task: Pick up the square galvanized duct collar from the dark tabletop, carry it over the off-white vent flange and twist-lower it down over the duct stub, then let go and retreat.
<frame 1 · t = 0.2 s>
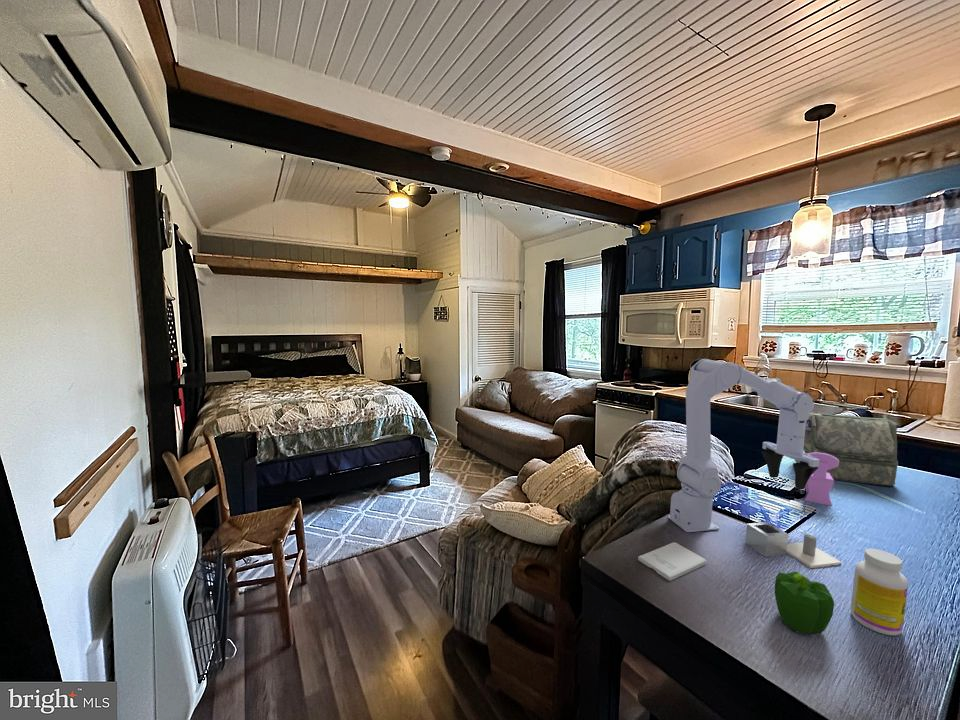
hand: (786, 482, 107), 10 cm above the table, fingers open, 7 cm apart
supplement bottle: (875, 623, 71), on the table
collar: (765, 548, 93), on the table
lunch bag: (839, 475, 139), on the table
vent flange: (808, 555, 91), on the table
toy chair: (815, 498, 120), on the table
bell pepper: (798, 624, 70), on the table
external hard drive: (671, 565, 88), on the table
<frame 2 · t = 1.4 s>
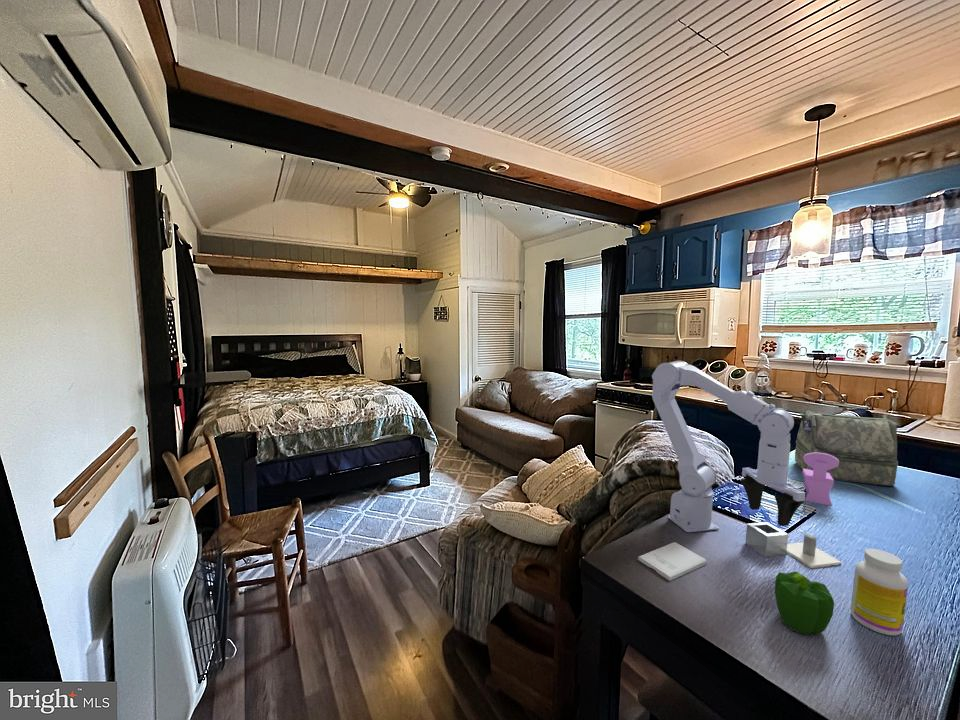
hand: (768, 516, 92), 8 cm above the table, fingers open, 7 cm apart
nothing on the table moved.
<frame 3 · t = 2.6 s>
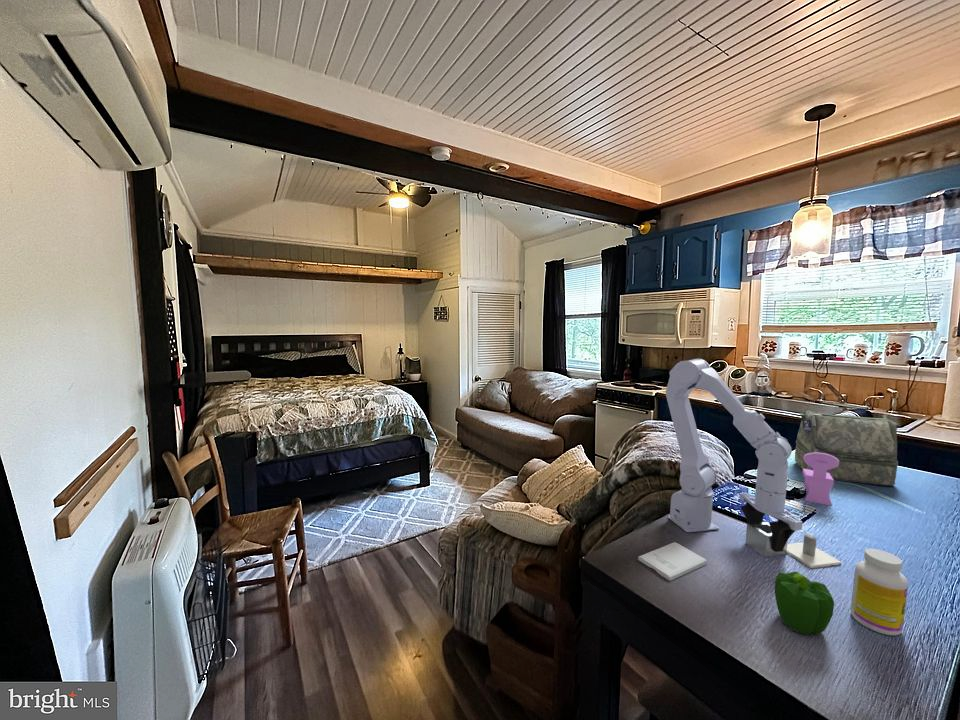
hand: (765, 543, 93), 1 cm above the table, fingers closed on collar, 6 cm apart
collar: (765, 548, 93), on the table, touching gripper
everything else where it was.
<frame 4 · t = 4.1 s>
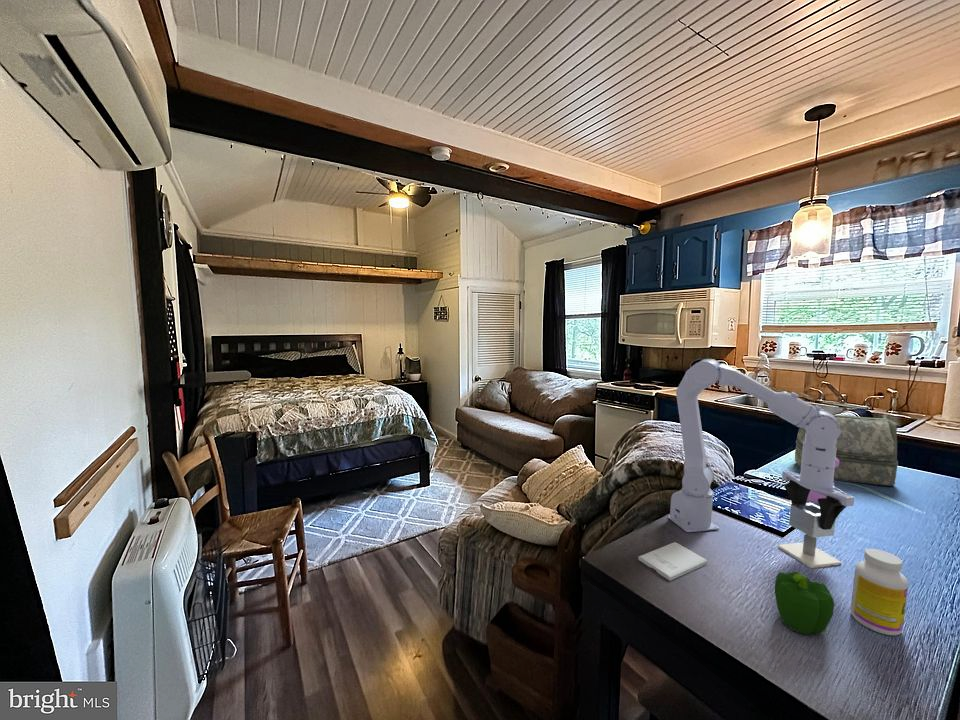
hand: (812, 521, 90), 8 cm above the table, fingers closed on collar, 6 cm apart
collar: (810, 529, 90), point 6 cm above the table, touching gripper
everything else where it was.
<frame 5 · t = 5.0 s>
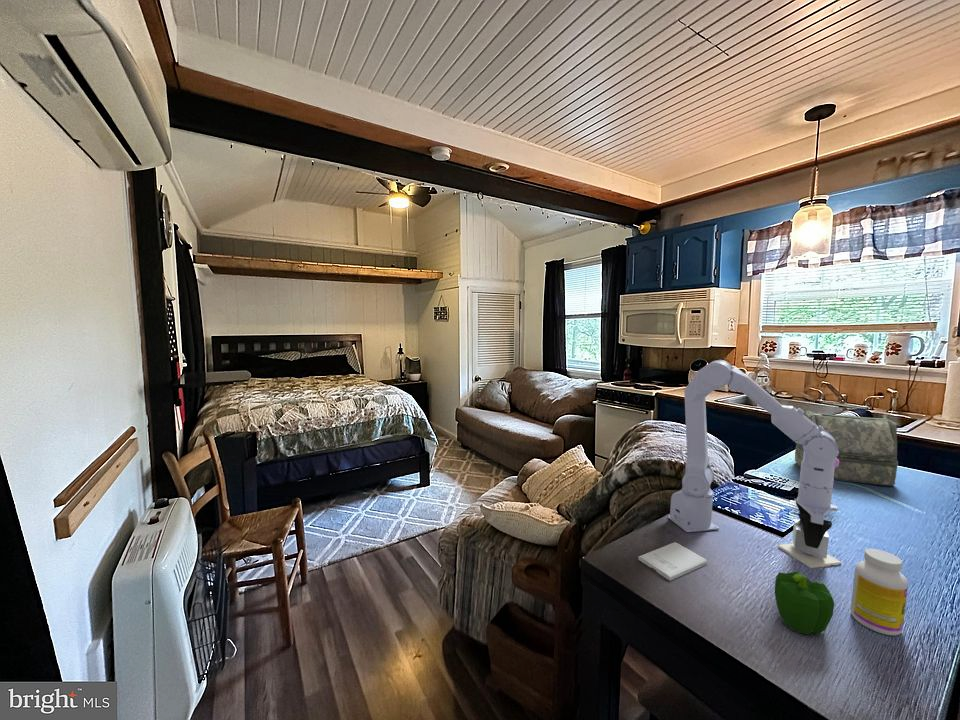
hand: (810, 540, 90), 4 cm above the table, fingers closed on collar, 6 cm apart
collar: (808, 548, 90), point 2 cm above the table, touching gripper
everything else where it was.
when the fingers open (3 cm above the table, at t = 5.7 s): collar stays where it is, resting on vent flange.
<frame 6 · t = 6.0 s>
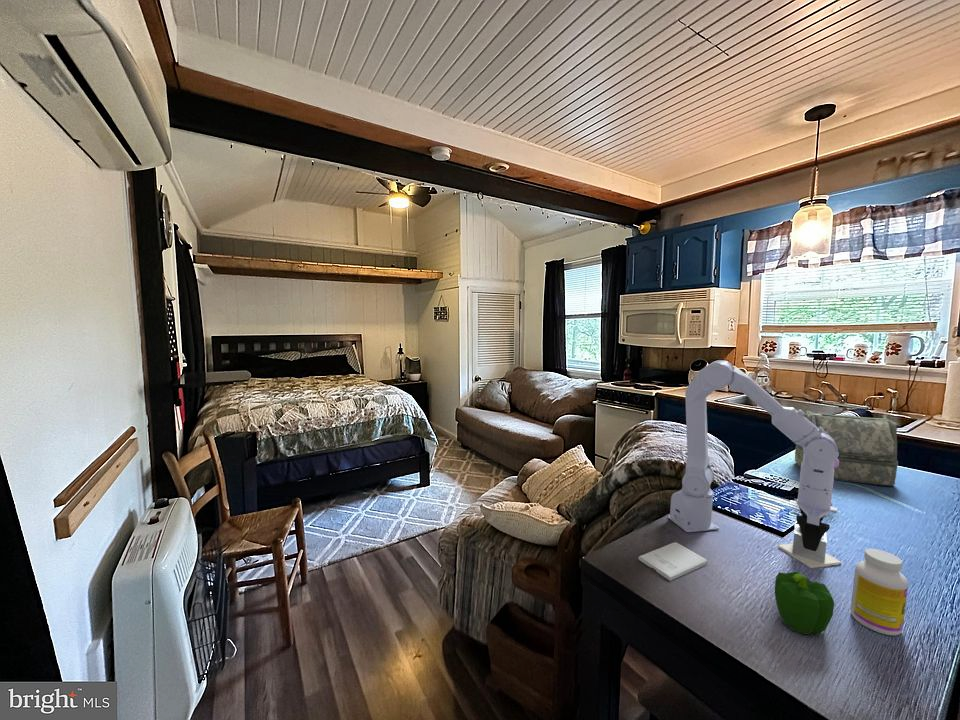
hand: (809, 541, 90), 3 cm above the table, fingers open, 7 cm apart
collar: (808, 553, 91), point 1 cm above the table, touching vent flange
everything else where it was.
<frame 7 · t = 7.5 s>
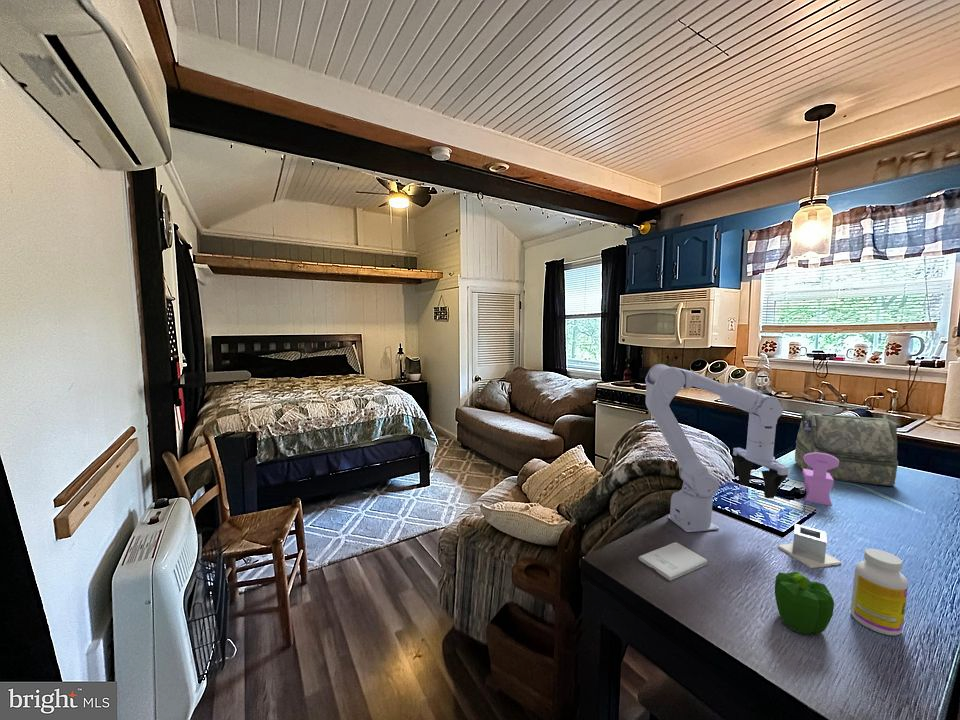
hand: (756, 491, 102), 10 cm above the table, fingers open, 7 cm apart
nothing on the table moved.
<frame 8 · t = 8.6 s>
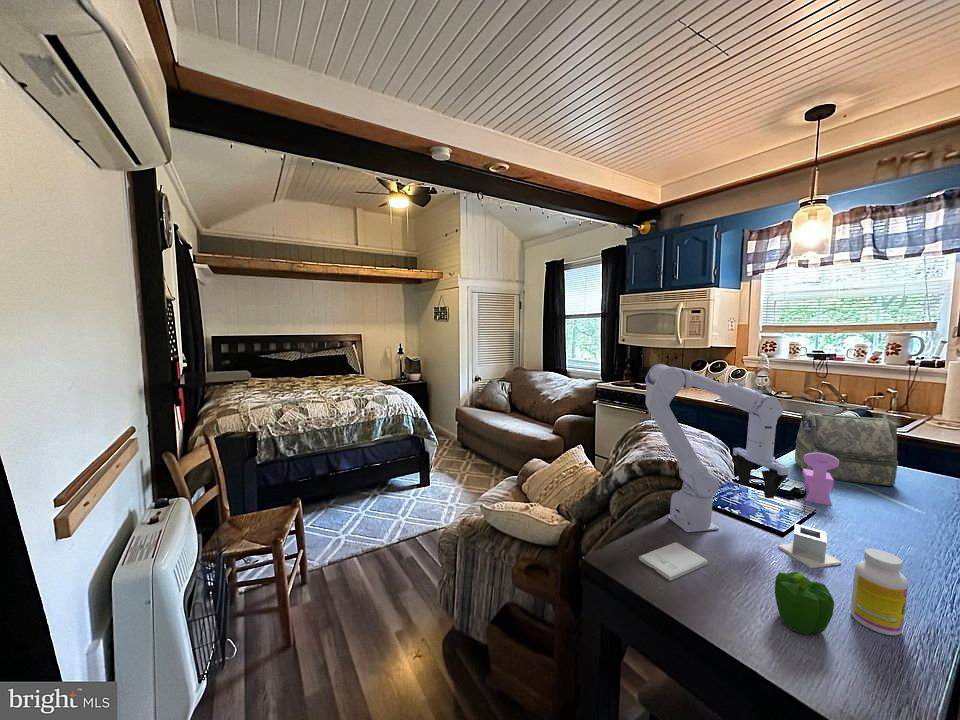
hand: (756, 491, 102), 10 cm above the table, fingers open, 7 cm apart
nothing on the table moved.
at the end: collar 0.1 cm off-centre on the vent flange, point 0.6 cm above the vent flange's base; the gripper is holding nothing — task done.
